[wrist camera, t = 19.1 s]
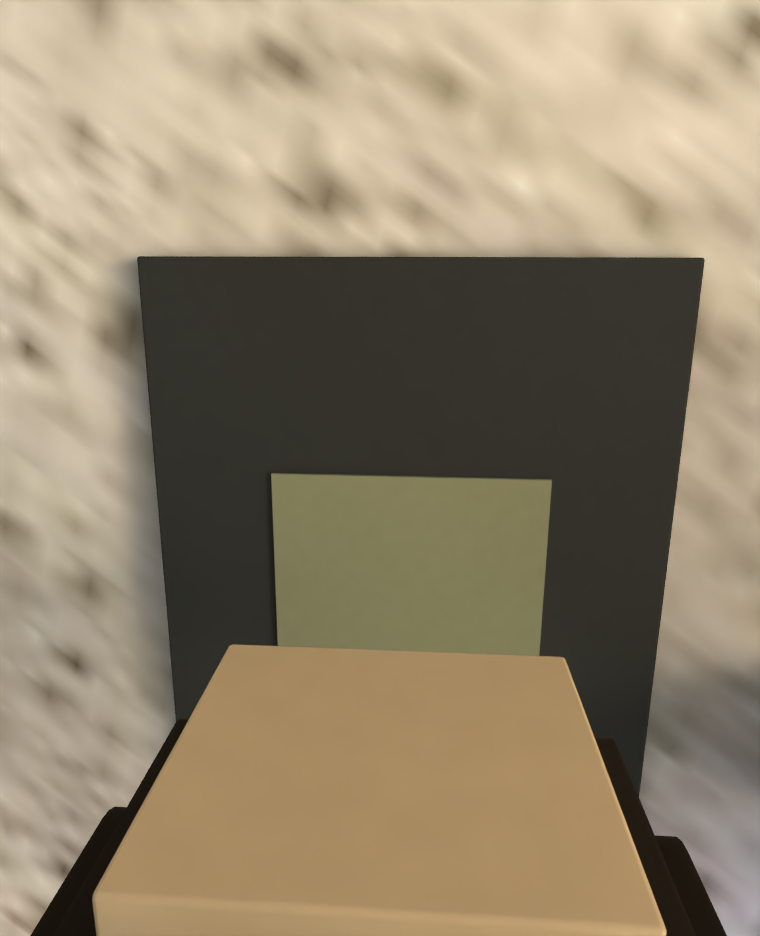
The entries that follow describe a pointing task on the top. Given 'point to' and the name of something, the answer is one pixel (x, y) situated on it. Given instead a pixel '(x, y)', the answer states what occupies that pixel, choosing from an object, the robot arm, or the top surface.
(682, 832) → the top surface
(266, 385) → the word mat
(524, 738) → the tile
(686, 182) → the top surface
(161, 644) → the top surface
